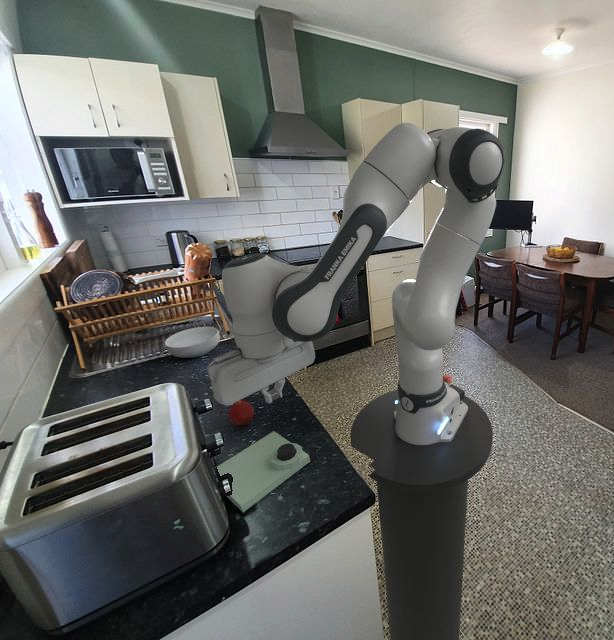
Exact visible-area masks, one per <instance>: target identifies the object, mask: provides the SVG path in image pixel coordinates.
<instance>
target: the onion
mask: <svg viewBox="0 0 614 640" xmlns="http://www.w3.org/2000/svg"><path fill="white" fill-rule="evenodd" d="M254 415H255V409H254V407H253V406H252V404H251V403H250V402H248V401H246V400H242V399H241V400H239V401H237V402H235V403H233V404H231V406H230V408H229V410H228V419H229V420H230V422H231V423H232V424H234V425H237V426H246V425H248V423H249V422H250V421H251V420H252V419H253V418H254Z"/></svg>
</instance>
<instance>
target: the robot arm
mask: <svg viewBox="0 0 614 640" xmlns="http://www.w3.org/2000/svg"><path fill="white" fill-rule="evenodd" d="M505 154H506V153H505V148H504V145H503V143H502V141H501V140H500V138H498V136H496V135H495V134H494V133H492V132H490V131H488V130H486V129H483V128H470V127H465V126H464V127H463V126H454V127H450V128H437V129H433V130H430V131H428V132H426V131H425V130H424V129H423V128H422V127H420V126H418V125H416V124H414V123H411V122H401V123H398V124H396V125H395V126H394V127H392V128H391V129H390V130H389V131H388V132H387V133H386V134H385V135H384V136H383V137H382V138H381V139H380V140H379V141H378V142H377V143H376V144H375V145H374V146H373V148H372V149H371V150H370V151H369V152H368V154H367V155H366V156H365V157H364V159H363V160H362V161H361V162H360V165H359V166H358V167H357V168H356V170H355V171H354V174H353V175H352V177H351V179H350V181H349V183H348V185H347V187H346V188H345V191H344V193H343V200H342V201H343V203H342V216H341V221H340V225H339V227H338V230H337V232H336V235H335V236H334V238H333V240H331V242H330V244H329V245H328V247H327V248H326V250H325V251H324V253H323V254H322V255H321V257H320V258H319V259H318V261H317V263H316V264H315V265H314V267H313V268H312V267H307V266H304V267H303V266H298V265H292V264H289V263H285V262H281V261H279V260H277V259H275V258H272V257H271V256H270V255H268V254H265V253H262V252H259V253H255V252H254V253H249V254H245V255H241V256H238V257H236V258H233V259H231V260H230V261H229V262H227V263H226V265H224V267H223V269H222V272H221V283H222V292H223V297H224V300H225V305H226V309H227V312H228V313H229V314H230V315H231V319H232V325H231V330H232V335H233V339H234V342H235V346H236V349H234V350H231V351H229V352H227V353H225V354H223V355H218V356H216V357H214V358H213V359H212V361H211V362H209V364H208V365H207V367H206V373H207V377H208V380H209V381H210V384H211V391H212V396H213V399H214V400H215V401H216V402H217V403H219V404H220V405H223V406H226V407H229V406H232V405H233V404H234V403H236V402H237V401H239V400H241V401H242V400H243V399H246V398H247V397H249V396H251V395H253V394H255V393H257V392H259V393H261V394H262V395H263V397H264V400H265V402H266V403H267V404H272V403H274V402H275V401H277V400H279V399H281V398H283V389H284V385H285V383H286V378H287V377H288V376H290V375H292V374H293V375H294V373H297V372H299V371H301V370H303V369H305V368H307V367H308V366H310V365H313V364H314V362H315V359H316V351H315V347H314V344H313V342H316V341H318V340H321V339H322V338H324V337H326V336H327V335H329V333H330V332H331V331H332V330H333V329H334V328H335V325H336V323H337V320H338V316H339V310H340V306H341V303H342V300H343V298H344V296H345V294H347V293H346V292H347V291H348V289H350V287H351V285H352V284H353V282H354V280H355V279H356V278H357V277H358V275H359V273H360V272H361V271H362V269H363V267H364V266H365V264H366V262H367V261H368V260H369V258H370V257H371V255H372V254H373V252H374V251H375V249H376V248H377V246H378V245H379V243H380V242H381V241H382V239H383V238H385V236H386V234H387V233H388V232H389V230H390V229H391V228H392V227H393V226H394V224H395V223H396V222H397V221H398V220H399V219H400V217H401V216H402V215H403V214H404V213H405V211H406V210H407V208H408V207H409V206H410V205H411V203H412V202H413V200H414V199H415V198H416V196H417V195H418V193H419V191H420V190H421V189H422V188H424V187H425V186H426V185H427V184H428V183H429V184H433V185H436V186H438V187H440V188H443V189H445V197H444V203H443V207H442V210H441V212H440V213H439V215H438V217H437V219H436V221H435V224H434V225H433V228H432V229H431V231H430V234H429V236H428V237H427V240H426V242H425V245H424V247H423V249H422V251H421V253H420V254H419V255H420V257H419V264H418V268H417V272H416V276H415V279H406V280H403V281H401V282H399V283H398V284H397V285H396V286H395V288H393V289H394V290H393V291H392V295H391V309H392V318H393V328H394V336H395V344H396V349H397V361H398V381H397V389H398V394H397V400H396V401H395V403H397V406H396V411H394V418H395V420H396V424H395V430H396V433H397V435H398V436H399V437H400V438H401V439H402V440H403V441H405V442H407V443H410V444H414V445H430V444H434V443H438V442H451V441H452V439H453V438H454V436H455V434H456V432H457V430H458V428H459V426H460V424H461V423H462V421H463V419H464V417H465V415H466V413H467V411H468V406H467V405H466V404H465V403H464V402H463V401H461V400H463V399H464V398H465V396H466V391H465V390H464V389H462V388H460V387H458V386H456V385H454V384H453V383H452V381H453V377H452V376H451V375H447V374H444V352H443V348H444V347H445V346H447V345H448V344H449V343H450V341H451V340H452V339H453V337H454V334H455V330H456V325H455V324H456V323H455V322H456V321H455V320H456V319H455V318H456V311H457V307H458V303H459V300H460V295H461V291H462V288H463V285H464V282H465V279H466V276H467V274H468V273H469V270H470V268H471V266H472V264H473V262H474V260H475V258H476V256H477V254H478V252H479V250H480V248H481V245H482V244H483V242H484V240H485V238H486V236H487V233H488V231H489V228H490V226H491V223H492V220H493V217H494V214H495V210H496V207H497V200H496V199H497V198H496V196H495V194H494V193H495V191H496V190H497V189H498V187H499V182H500V180H501V178H502V175H503V172H504V168H505V162H506V161H505V158H506V157H505V156H506V155H505ZM273 384H274V386H273V389H271V390H270V388H269V387H270V386H271V385H273ZM446 384H448V385H446Z"/></svg>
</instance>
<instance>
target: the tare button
mask: <svg viewBox="0 0 614 640" xmlns="http://www.w3.org/2000/svg"><path fill="white" fill-rule="evenodd" d="M290 443H291V442H290ZM290 443H287V444H284V445H282V446H280V447H279V448H278V450H277V453H278V458H279V460H281V461H286V460H290V459H291V458H293V457H294V456H295V448H294V445H293V444H290Z"/></svg>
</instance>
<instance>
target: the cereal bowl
mask: <svg viewBox="0 0 614 640" xmlns="http://www.w3.org/2000/svg"><path fill="white" fill-rule="evenodd" d="M220 336H221V335H220V331H219V329H218V328H216V327H214V326H198V327H197V326H196V327H192V328H187V329H184V330H181V331H178V332H175V333H174V334H172V335H170V336H168V337H167V338H166V340H165V341H164V345H165V348H166V350H167V351H168V353H169V354H170V355H172V356H174V357H177V358H181V359H186V358H188V359H195V358H200V357H202V356H205V355H207V354H209V352H212V350H214V349H215V348H216V347H217V346H218V344H219V343H220V340H221V337H220Z"/></svg>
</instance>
